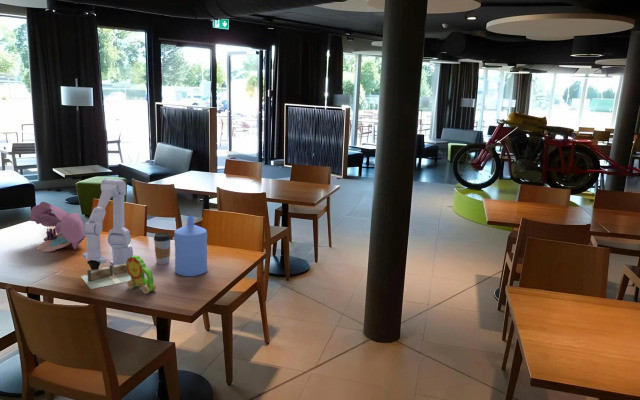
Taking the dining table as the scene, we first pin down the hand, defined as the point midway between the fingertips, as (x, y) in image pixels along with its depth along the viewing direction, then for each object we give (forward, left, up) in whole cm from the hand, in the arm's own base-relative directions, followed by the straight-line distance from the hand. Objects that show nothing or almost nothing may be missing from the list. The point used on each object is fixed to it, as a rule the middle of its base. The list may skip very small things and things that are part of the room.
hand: (95, 274), depth 227 cm
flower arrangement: (+4, -58, -2) cm, 59 cm away
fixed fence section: (-12, +1, -2) cm, 12 cm away
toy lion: (-13, +23, -2) cm, 26 cm away
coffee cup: (-34, -4, -2) cm, 34 cm away
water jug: (-41, +15, -2) cm, 44 cm away
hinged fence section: (-1, +1, -1) cm, 2 cm away
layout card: (-7, +3, -2) cm, 8 cm away
